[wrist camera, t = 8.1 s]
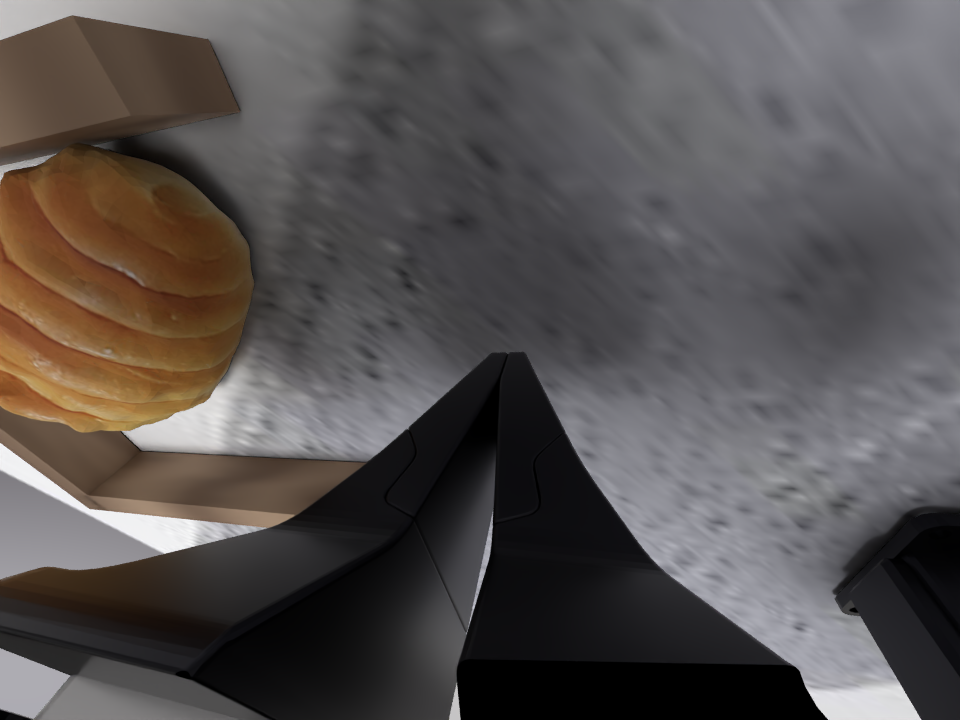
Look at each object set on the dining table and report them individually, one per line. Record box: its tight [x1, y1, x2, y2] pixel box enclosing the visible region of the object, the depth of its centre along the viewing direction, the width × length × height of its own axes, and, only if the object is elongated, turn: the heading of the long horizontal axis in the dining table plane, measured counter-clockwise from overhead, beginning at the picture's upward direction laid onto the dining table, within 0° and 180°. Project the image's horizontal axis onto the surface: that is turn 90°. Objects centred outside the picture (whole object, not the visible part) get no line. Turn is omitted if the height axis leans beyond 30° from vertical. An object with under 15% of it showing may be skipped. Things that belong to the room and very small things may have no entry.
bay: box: [0, 15, 366, 528], centre depth 12 cm, size 15×14×2 cm
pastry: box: [0, 143, 255, 433], centre depth 10 cm, size 9×7×4 cm
